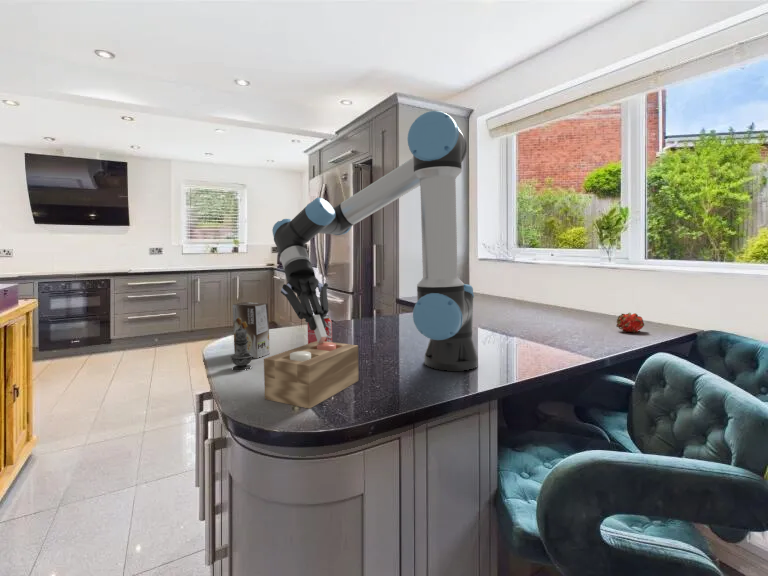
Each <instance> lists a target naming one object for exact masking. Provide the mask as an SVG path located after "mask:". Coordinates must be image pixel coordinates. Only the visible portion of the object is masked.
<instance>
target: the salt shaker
mask: <svg viewBox="0 0 768 576" xmlns="http://www.w3.org/2000/svg"><path fill="white" fill-rule="evenodd" d="M235 333H236V341H235V342H234V341H233V344H234V343H235V344H236V351H234V353H233V354H231V355H230V357H229V358H231V362H232V364H234V366H233V367H232V368H233V370H245V369H246V371H248V370H247V369H250V367H251V366H252V365H251V364H250V363H251V362H252V359H253V358H252V356H253V354H251V353H249V352H248V349H247V343H248V341H247V331H246V330H245V329H243V328H242V326H240V328H239V329H237V330H236V332H235ZM233 370H232V371H233ZM250 370H251V369H250Z"/></svg>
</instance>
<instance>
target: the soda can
mask: <svg viewBox="0 0 768 576" xmlns="http://www.w3.org/2000/svg"><path fill="white" fill-rule="evenodd" d="M313 316H314V314H313ZM324 320H325V323H326V327H325V331H326V334H327V338H326V339H325V341H326V342H333V325H332V323H333V321H332V319H331V315H328V314H327V315H326V317H324ZM315 341H317V338H316V335H315V332H314V330H311V329H310V327H309V324H308V323H307V344H309V343H312V342H315Z"/></svg>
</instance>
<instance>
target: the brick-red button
mask: <svg viewBox="0 0 768 576" xmlns="http://www.w3.org/2000/svg"><path fill="white" fill-rule="evenodd" d="M335 343H336V342H335ZM335 343H330V342H326V343H319V344H317V350H325V351H332V350H334V349H336V344H335Z"/></svg>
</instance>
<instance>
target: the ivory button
mask: <svg viewBox="0 0 768 576" xmlns="http://www.w3.org/2000/svg"><path fill="white" fill-rule="evenodd" d="M309 359H311V353H310V352H307V351H298V352H293V353H290V360H296V361H302V362H304V361H306V360H309Z"/></svg>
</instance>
